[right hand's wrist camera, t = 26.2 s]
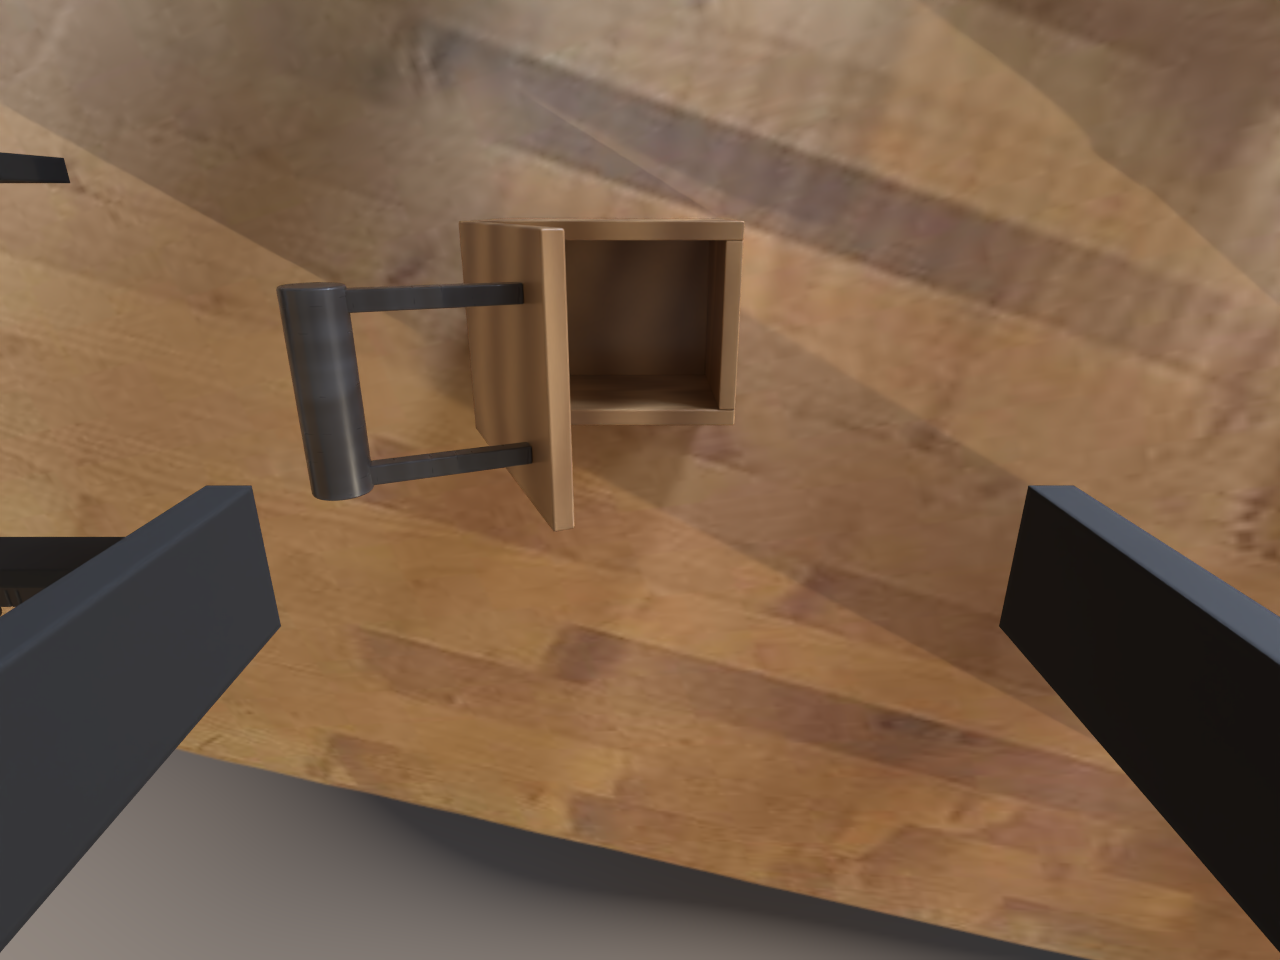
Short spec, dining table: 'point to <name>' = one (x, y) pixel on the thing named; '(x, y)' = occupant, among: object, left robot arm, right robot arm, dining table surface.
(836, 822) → the dining table surface
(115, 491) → the dining table surface
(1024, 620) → the right robot arm
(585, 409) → the chest
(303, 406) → the lid
